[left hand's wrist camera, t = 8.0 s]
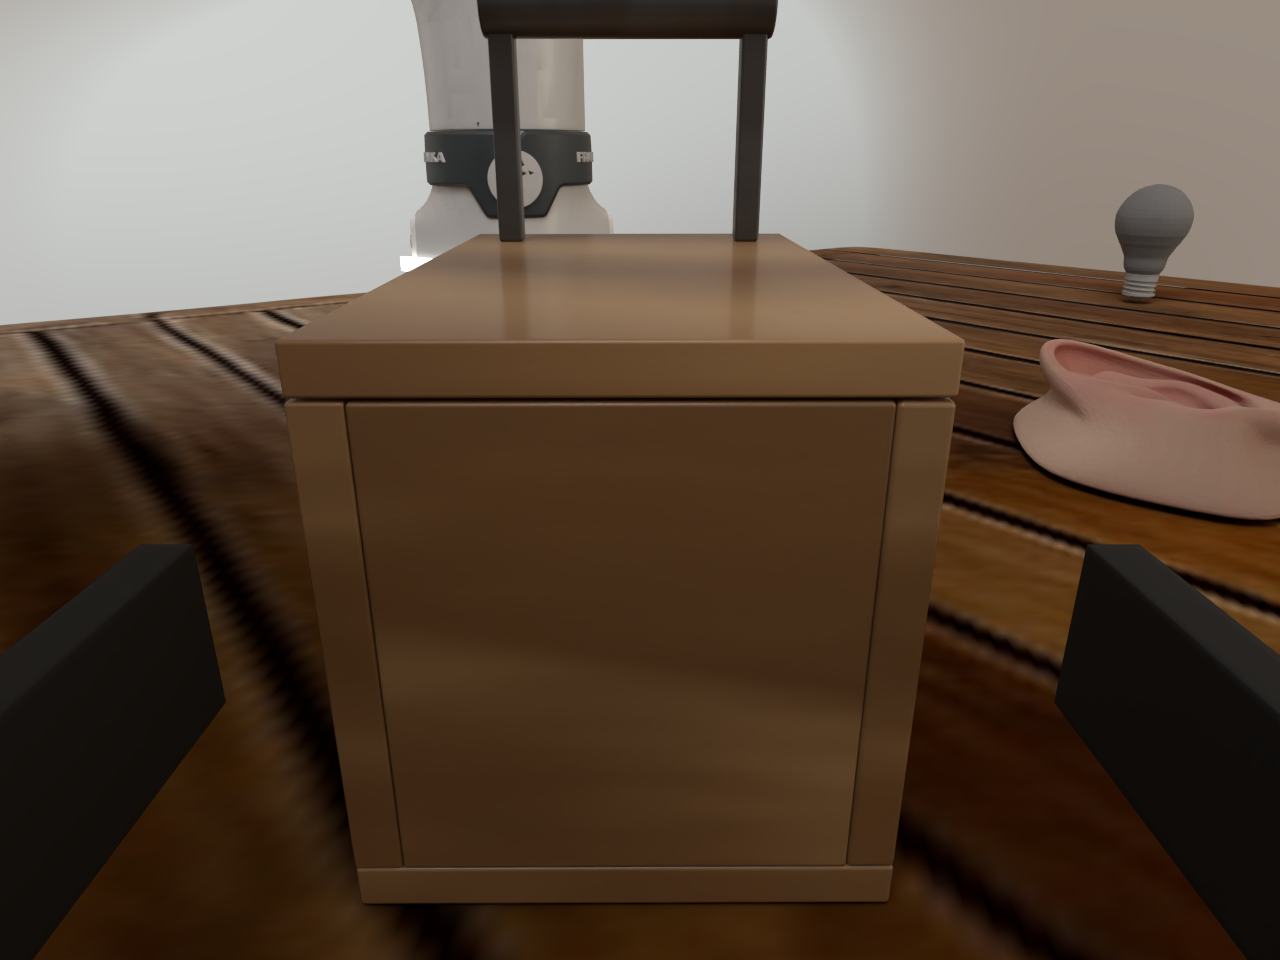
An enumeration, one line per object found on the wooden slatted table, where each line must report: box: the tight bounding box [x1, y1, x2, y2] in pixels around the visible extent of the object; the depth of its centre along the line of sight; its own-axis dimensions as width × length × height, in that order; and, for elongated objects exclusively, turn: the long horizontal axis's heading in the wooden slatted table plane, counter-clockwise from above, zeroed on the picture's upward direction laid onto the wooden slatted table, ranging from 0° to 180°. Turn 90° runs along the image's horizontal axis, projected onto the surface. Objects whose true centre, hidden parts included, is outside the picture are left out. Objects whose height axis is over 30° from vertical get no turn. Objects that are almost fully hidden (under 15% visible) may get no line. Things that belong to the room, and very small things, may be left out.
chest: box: [284, 397, 956, 904], centre depth 21 cm, size 16×10×10 cm, turn 0°
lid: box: [275, 0, 965, 398], centre depth 19 cm, size 17×10×8 cm, turn 0°
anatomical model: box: [1013, 339, 1280, 520], centre depth 37 cm, size 13×4×12 cm
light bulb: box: [1115, 184, 1194, 301], centre depth 77 cm, size 6×6×10 cm
